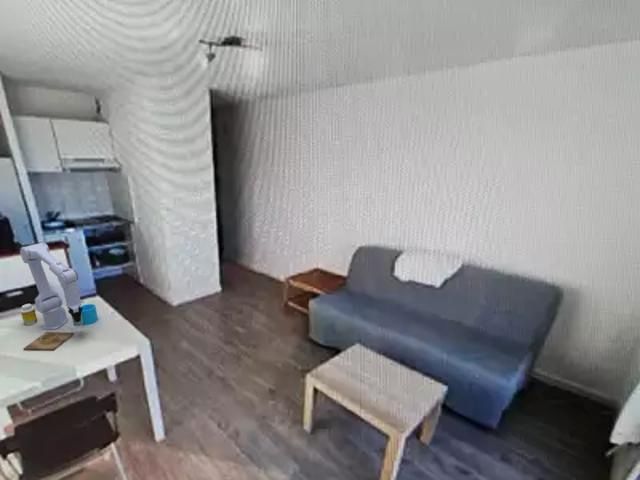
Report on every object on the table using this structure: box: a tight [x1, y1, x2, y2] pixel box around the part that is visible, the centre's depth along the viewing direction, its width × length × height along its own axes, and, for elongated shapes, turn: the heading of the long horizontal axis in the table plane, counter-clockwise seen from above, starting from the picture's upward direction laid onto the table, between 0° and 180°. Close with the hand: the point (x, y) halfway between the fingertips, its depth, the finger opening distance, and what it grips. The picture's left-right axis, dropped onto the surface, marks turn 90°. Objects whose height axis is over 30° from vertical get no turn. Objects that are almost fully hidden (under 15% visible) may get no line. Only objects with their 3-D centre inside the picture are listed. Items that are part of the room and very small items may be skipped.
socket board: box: [23, 331, 75, 352], centre depth 170 cm, size 14×14×1 cm
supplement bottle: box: [20, 303, 38, 326], centre depth 185 cm, size 6×6×10 cm
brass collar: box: [39, 333, 58, 344], centre depth 170 cm, size 7×7×2 cm
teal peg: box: [70, 314, 83, 327], centre depth 173 cm, size 4×4×7 cm
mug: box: [80, 303, 99, 326], centre depth 189 cm, size 12×8×8 cm
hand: (77, 319), depth 173 cm, fingers closed on teal peg, 4 cm apart
